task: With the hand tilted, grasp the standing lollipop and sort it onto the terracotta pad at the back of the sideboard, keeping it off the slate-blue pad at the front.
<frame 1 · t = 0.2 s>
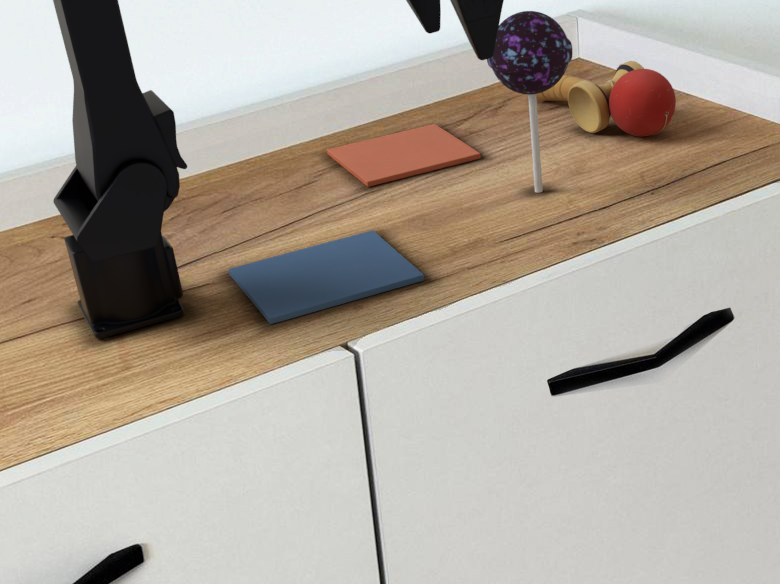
hand: (458, 44, 100), 14 cm above the sideboard top, tool pointing down, fingers open, 9 cm apart
terracotta pad: (403, 156, 120), on the sideboard top
kendama: (599, 121, 125), on the sideboard top
slate pad: (325, 277, 99), on the sideboard top
lollipop: (538, 193, 111), on the sideboard top
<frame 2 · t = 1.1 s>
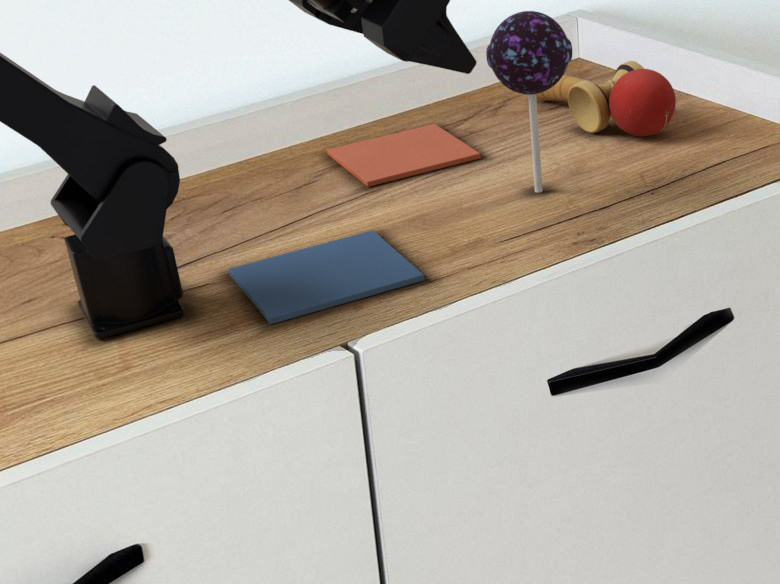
hand: (443, 54, 101), 13 cm above the sideboard top, tool tilted 45°, fingers open, 9 cm apart
nothing on the sideboard top moved.
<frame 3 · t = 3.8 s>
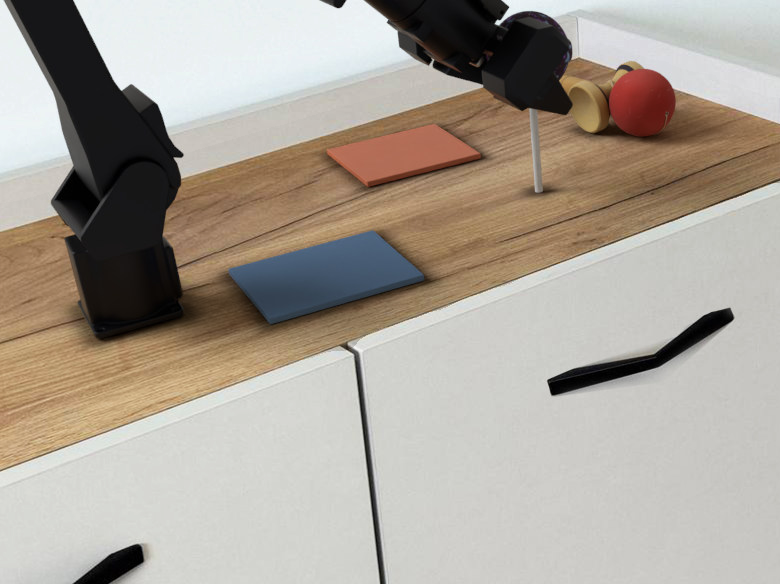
hand: (547, 99, 108), 8 cm above the sideboard top, tool tilted 45°, fingers closed on lollipop, 6 cm apart
lollipop: (539, 193, 111), on the sideboard top, touching gripper
everything else where it was.
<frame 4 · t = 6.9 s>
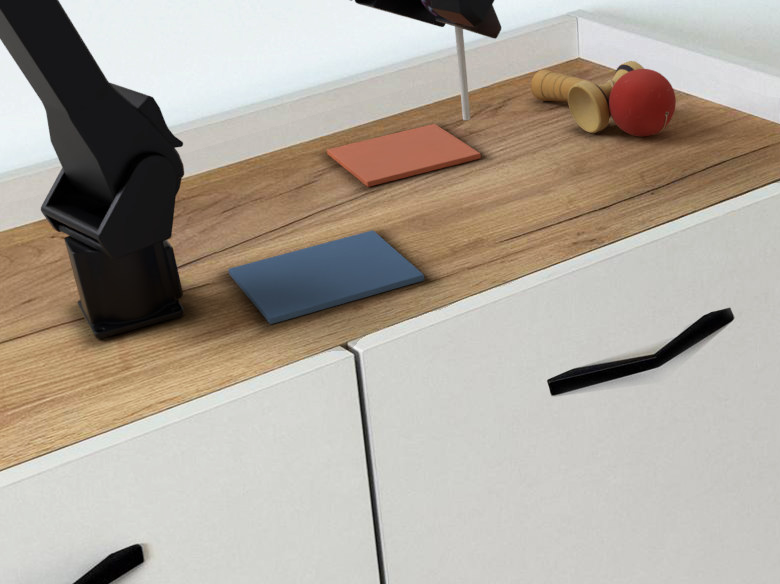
hand: (471, 27, 111), 12 cm above the sideboard top, tool tilted 45°, fingers closed on lollipop, 6 cm apart
lollipop: (466, 121, 114), point 4 cm above the sideboard top, touching gripper
everything else where it was.
when the fingers open (8 cm above the sideboard top, at t = 10.0 s): lollipop stays where it is, resting on terracotta pad.
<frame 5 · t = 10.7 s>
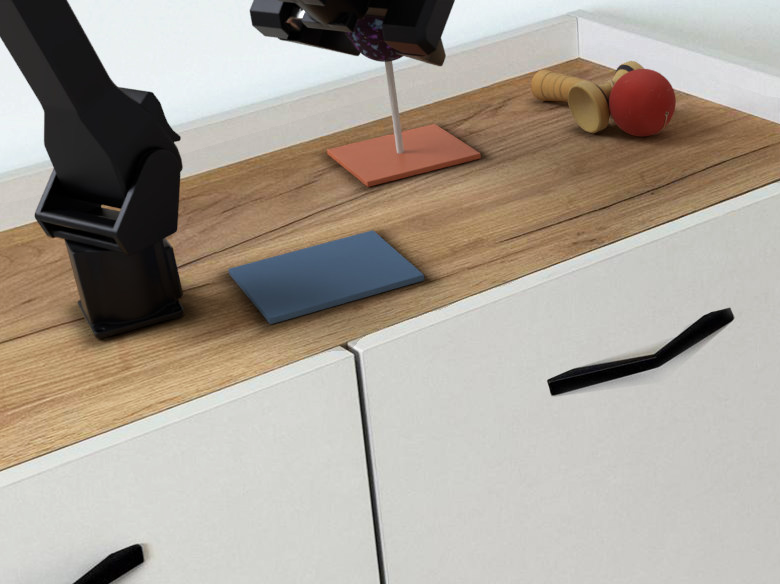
hand: (400, 56, 117), 9 cm above the sideboard top, tool tilted 45°, fingers open, 9 cm apart
lollipop: (400, 154, 120), resting on terracotta pad
everything else where it was.
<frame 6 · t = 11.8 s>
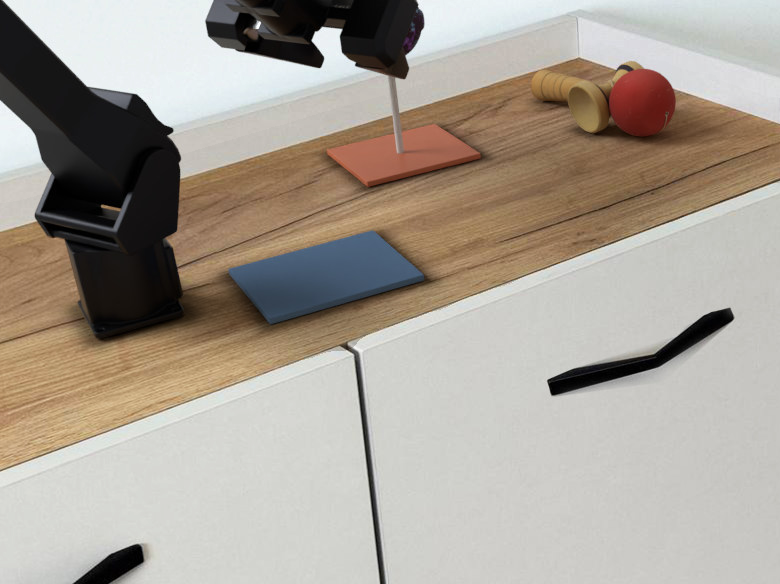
hand: (362, 68, 113), 9 cm above the sideboard top, tool tilted 45°, fingers open, 9 cm apart
nothing on the sideboard top moved.
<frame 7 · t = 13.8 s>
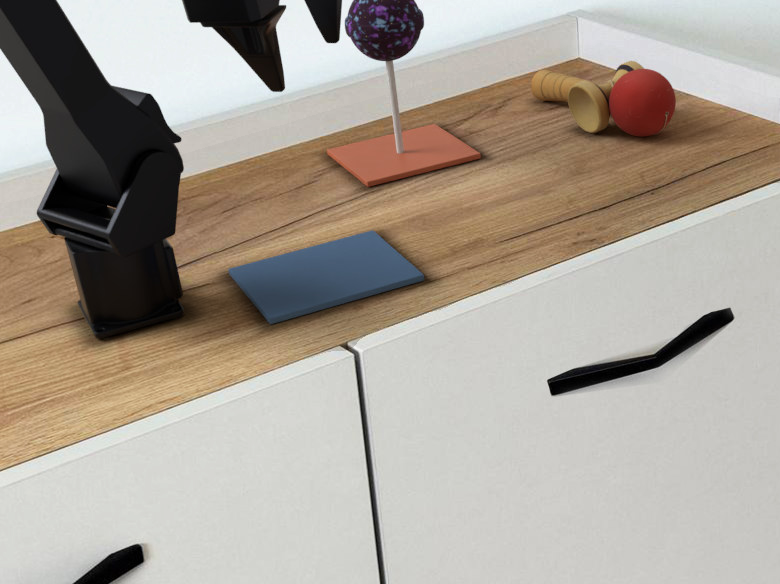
hand: (306, 65, 104), 12 cm above the sideboard top, tool pointing down, fingers open, 9 cm apart
nothing on the sideboard top moved.
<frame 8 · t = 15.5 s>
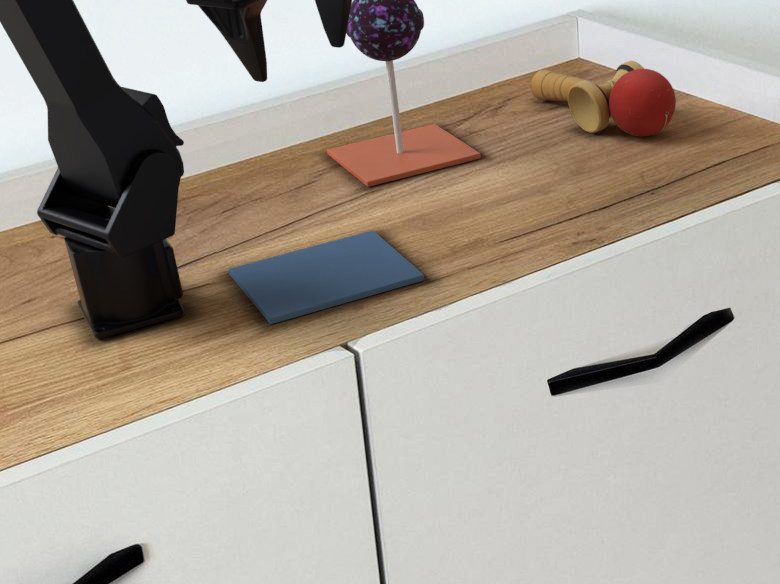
hand: (300, 63, 103), 13 cm above the sideboard top, tool pointing down, fingers open, 9 cm apart
nothing on the sideboard top moved.
at the end: lollipop inside the target area on the terracotta pad (0.2 cm from its centre), point 0.3 cm above the terracotta pad's base; lollipop tilted 0°; lollipop touching terracotta pad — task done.
